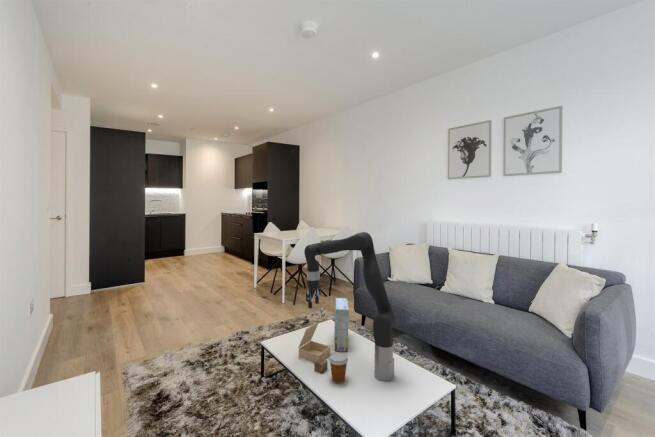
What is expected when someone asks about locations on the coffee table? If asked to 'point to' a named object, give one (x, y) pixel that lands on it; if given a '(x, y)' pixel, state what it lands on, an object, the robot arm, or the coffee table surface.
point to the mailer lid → (308, 334)
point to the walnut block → (320, 365)
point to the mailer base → (314, 351)
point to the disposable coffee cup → (338, 366)
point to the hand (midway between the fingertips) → (313, 305)
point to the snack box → (341, 324)
